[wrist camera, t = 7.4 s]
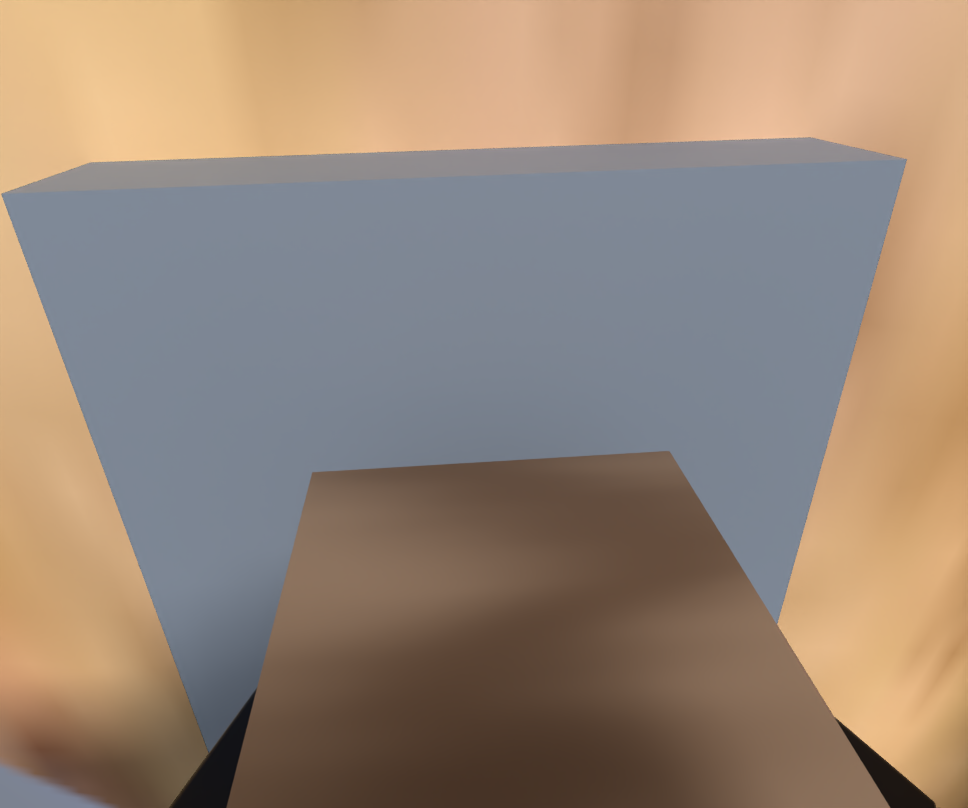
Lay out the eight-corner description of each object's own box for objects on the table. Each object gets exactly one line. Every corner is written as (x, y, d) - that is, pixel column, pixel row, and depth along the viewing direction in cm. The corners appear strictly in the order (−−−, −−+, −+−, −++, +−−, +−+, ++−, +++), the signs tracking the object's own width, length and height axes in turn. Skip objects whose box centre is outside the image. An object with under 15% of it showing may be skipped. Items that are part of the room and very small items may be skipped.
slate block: (796, 133, 12) (906, 159, 9) (701, 614, 17) (751, 715, 15) (102, 158, 11) (1, 193, 8) (246, 653, 17) (213, 767, 14)
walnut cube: (669, 450, 9) (896, 815, 5) (634, 685, 12) (763, 1069, 7) (312, 472, 9) (206, 885, 4) (353, 708, 11) (310, 1129, 7)
